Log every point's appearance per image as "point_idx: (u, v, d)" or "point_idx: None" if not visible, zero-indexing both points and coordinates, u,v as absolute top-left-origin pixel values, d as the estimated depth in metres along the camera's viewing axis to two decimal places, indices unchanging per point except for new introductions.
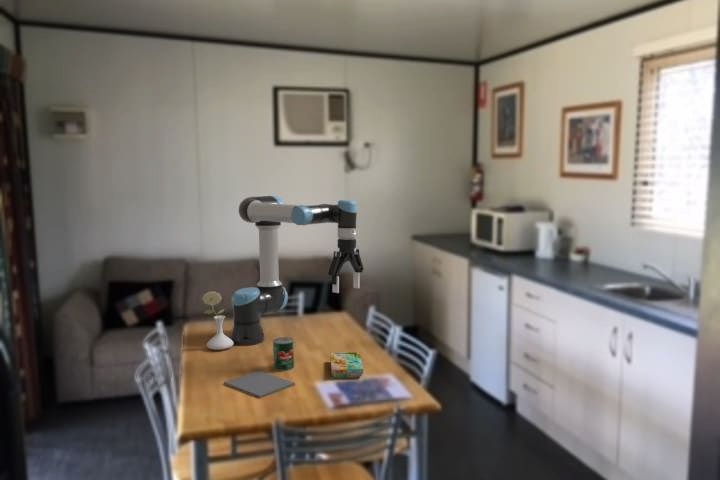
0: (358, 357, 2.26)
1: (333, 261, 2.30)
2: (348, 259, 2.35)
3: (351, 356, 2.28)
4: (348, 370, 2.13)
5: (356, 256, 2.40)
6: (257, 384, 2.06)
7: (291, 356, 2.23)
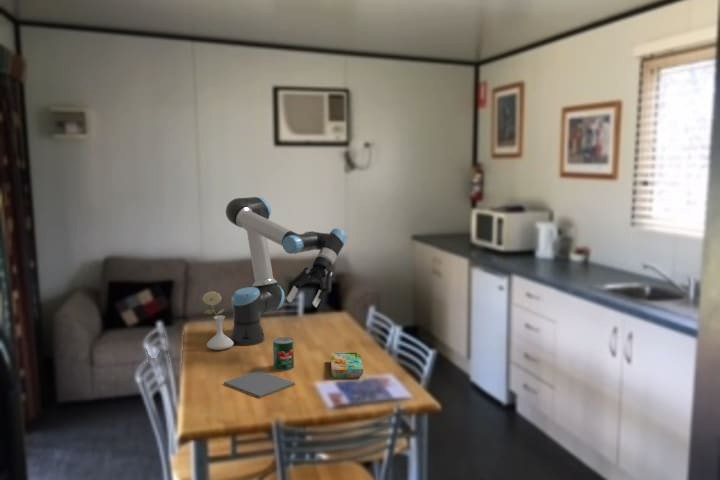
0: (358, 357, 2.26)
1: (329, 279, 2.33)
2: None
3: (351, 356, 2.28)
4: (348, 370, 2.13)
5: (305, 275, 2.42)
6: (257, 384, 2.06)
7: (291, 356, 2.23)
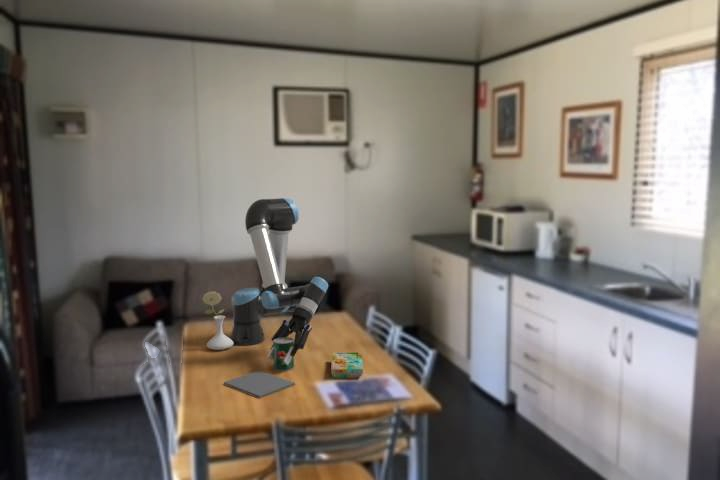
0: (359, 357, 2.26)
1: (305, 334, 2.25)
2: None
3: (352, 356, 2.28)
4: (348, 370, 2.13)
5: (285, 328, 2.33)
6: (257, 384, 2.06)
7: None
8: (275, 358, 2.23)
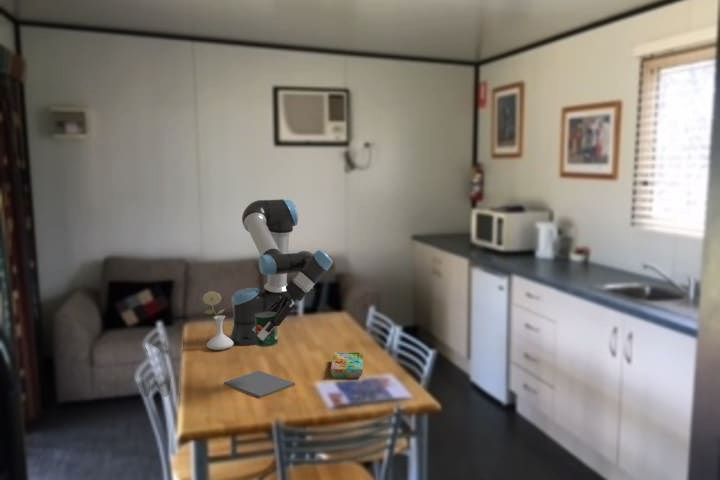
0: (360, 357, 2.26)
1: (285, 311, 2.04)
2: None
3: (353, 356, 2.28)
4: (347, 370, 2.13)
5: None
6: (257, 384, 2.06)
7: None
8: None
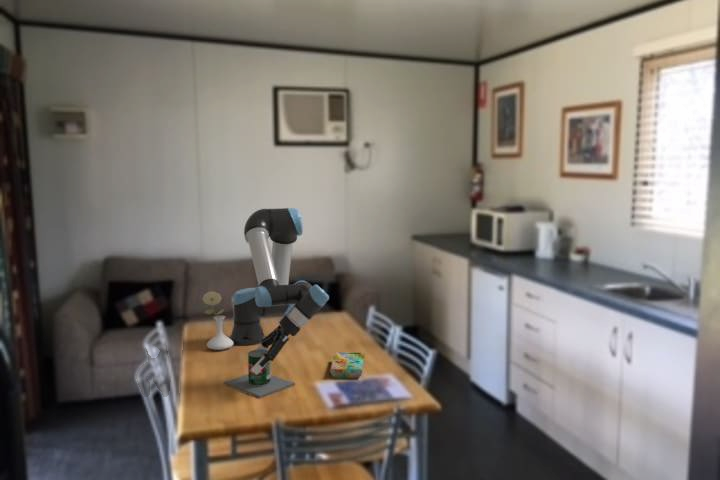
0: (361, 357, 2.26)
1: (278, 345, 2.00)
2: None
3: (354, 356, 2.28)
4: (347, 369, 2.14)
5: None
6: None
7: (261, 372, 2.03)
8: None
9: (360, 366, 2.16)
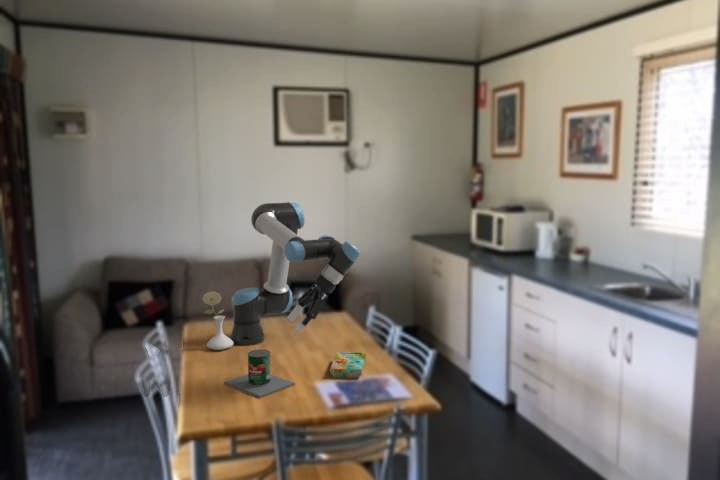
0: (361, 357, 2.25)
1: (318, 303, 2.06)
2: None
3: (355, 356, 2.28)
4: (347, 369, 2.14)
5: None
6: None
7: (261, 372, 2.03)
8: None
9: (360, 366, 2.16)
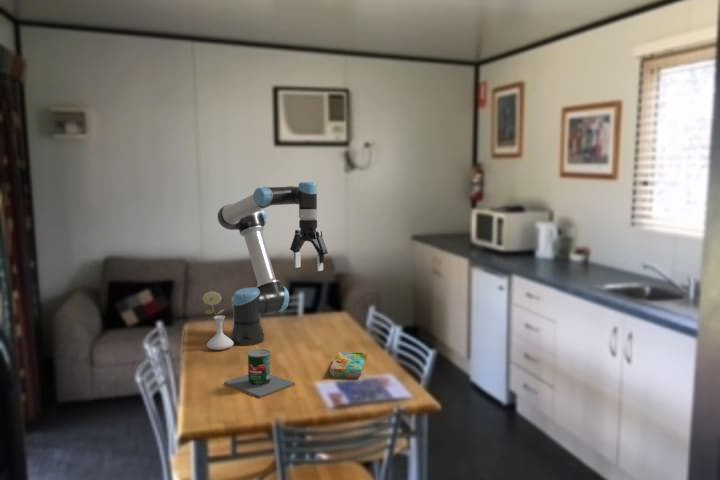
0: (362, 358, 2.25)
1: (321, 241, 2.40)
2: None
3: (356, 356, 2.28)
4: (346, 369, 2.14)
5: (298, 236, 2.49)
6: None
7: (261, 372, 2.03)
8: None
9: (360, 366, 2.15)
